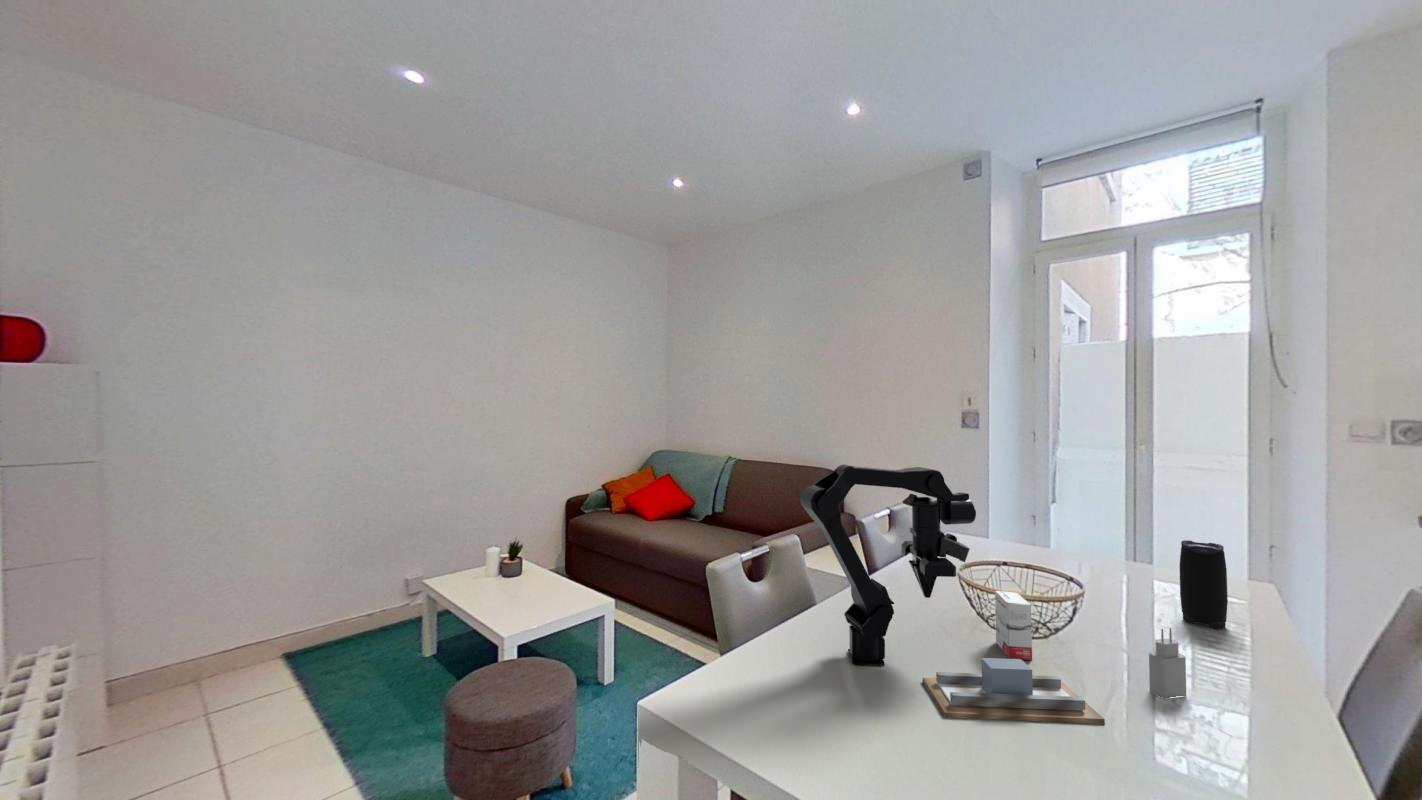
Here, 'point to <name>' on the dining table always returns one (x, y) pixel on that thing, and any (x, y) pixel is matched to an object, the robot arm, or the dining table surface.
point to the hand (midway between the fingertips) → (927, 597)
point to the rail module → (1006, 676)
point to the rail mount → (1009, 700)
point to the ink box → (1013, 625)
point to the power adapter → (1167, 669)
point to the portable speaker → (1203, 584)
